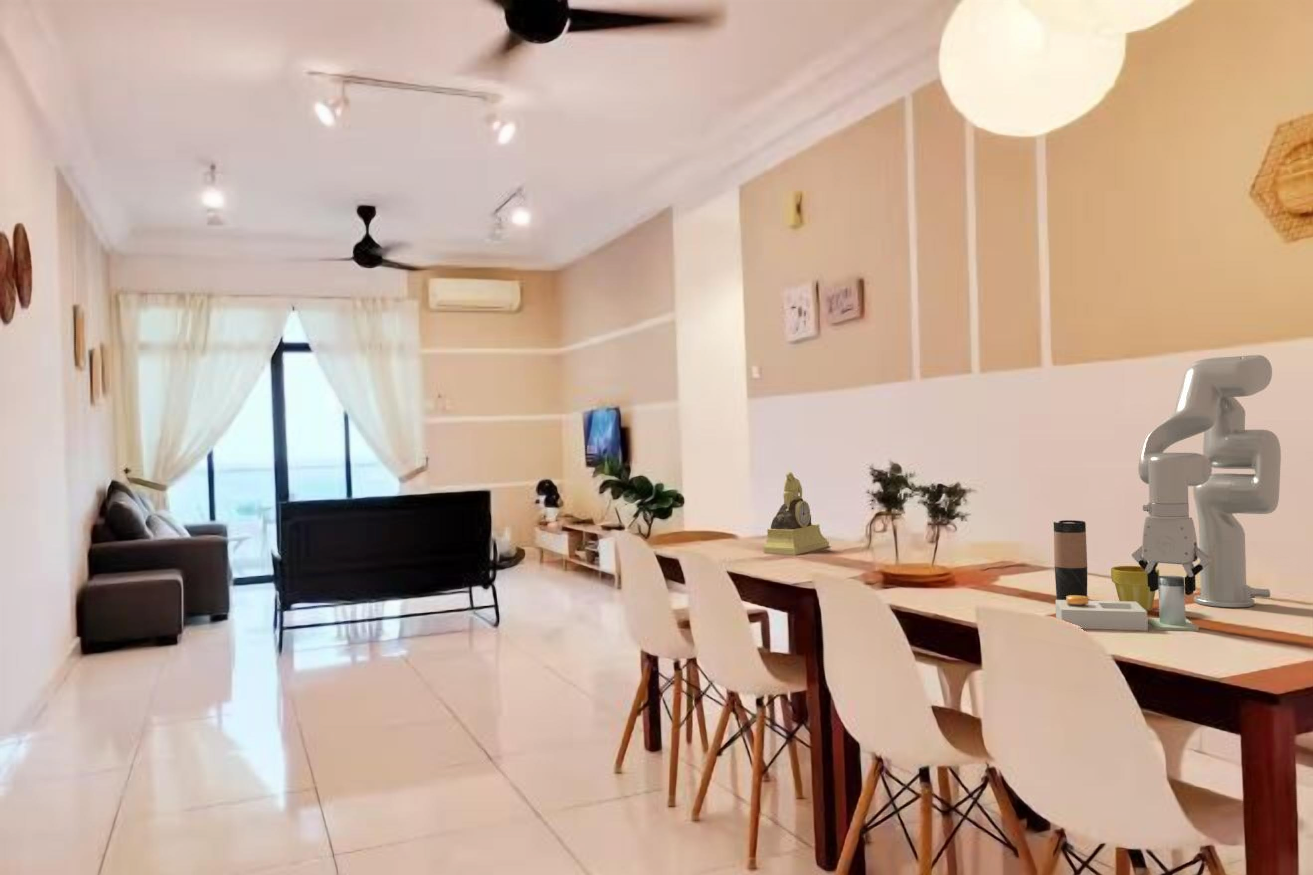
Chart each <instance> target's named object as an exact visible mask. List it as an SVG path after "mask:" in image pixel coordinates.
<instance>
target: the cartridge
mask: <svg viewBox="0 0 1313 875" xmlns="http://www.w3.org/2000/svg"><path fill="white" fill-rule="evenodd" d="M1157 591H1158V612H1159V615H1158V617H1159V618H1160V623H1162V624H1167V625H1184V624H1186V619H1187V616H1186V594H1185V577H1183V576H1179V575H1159V576H1158V590H1157Z"/></svg>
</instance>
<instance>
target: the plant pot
mask: <svg viewBox="0 0 1313 875" xmlns="http://www.w3.org/2000/svg"><path fill="white" fill-rule="evenodd" d="M1155 570H1156V572H1157V573H1158V576H1160V570H1159V568H1157V567H1156V569H1155ZM1110 576H1111V577H1110V578H1111V582H1112V583H1113V584H1114V586H1115V589H1116V593H1117V598H1118V601H1130V602H1137V603H1138V604H1139V605H1140V606H1141V607H1142V608H1144V609H1145V610H1146V611H1147V612H1149V611H1152V610H1153V607H1154V601H1155V598H1156V597H1155V596H1156V591H1153V592H1152V591H1150V587H1148V578H1147V573H1146V572H1145V570H1144V569H1143V568H1142V567H1141V566H1140V565H1119V566H1114V567H1113V566H1112V567H1111V568H1110Z"/></svg>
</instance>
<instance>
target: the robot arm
mask: <svg viewBox="0 0 1313 875" xmlns="http://www.w3.org/2000/svg"><path fill="white" fill-rule="evenodd" d="M1272 377H1273V368H1272V364H1271V362H1270V361H1269V359H1268V358H1267V357H1266V356H1264V355H1261V354H1255V355H1251V354H1250V355H1240V356H1239V355H1238V356H1221V357H1212V358H1204V359H1200V360H1196V361H1195V362H1193V363H1192V364H1191V365H1190V367H1189V368H1187V370H1186V371H1185V373H1184V376H1183V378H1182V383H1181V386H1180V389H1179V393H1178V396H1177V400H1176V401H1177V402H1176V404H1175V408H1174V412H1173V414H1171V415H1170V416H1168V417H1167V418H1165V419H1164V420H1163V421H1162V422H1160V423H1159V424H1158V425H1157V426H1156V427H1155V428H1153V430H1152V431H1150V433H1149V434H1148V435H1147V437H1145V440H1144V443H1143V446H1142V449H1141V453H1140V457H1139V460H1138V467H1137V468H1138V469H1137V470H1138V476H1139V478H1140V480H1141V481H1142V482H1143V483H1144V484H1146V485H1148V496H1149V497H1148V499H1149V502H1148V504H1144V505H1143V506H1142V511H1143V512H1148V515H1149V516H1145V519H1144V524H1143V531H1142V532H1143V533H1142V543H1141V546H1140V547H1139V548H1138V549H1136V550H1135V551H1134V552H1133V553H1132V554H1131V557H1132V558H1133V559H1134V561H1135V562H1136V563H1137V564H1138V566H1141V567H1142V568H1143V569H1144V570H1145V572H1146V573H1147V578H1148V587H1150V591H1152V592H1153V591H1155V592H1157V591H1159V590H1158V573H1157V572H1156V570H1155V569H1156V568H1157V567H1158V565H1159V564H1170V565H1182V567H1183V569H1184V571H1185V573H1186V575H1185V577H1184V590H1185V596H1191V595H1193V594H1194V592H1195V591H1196V588H1197V587H1196V576H1197V575H1198V574H1200V575H1199V576H1200V577H1199V579H1200V594H1196V595H1194V596H1193V602H1195V603H1196V604H1199V605H1204V606H1210V607H1211V606H1212V607H1218V608H1219V607H1220V608H1248V607H1253V606H1255V598H1256V597H1259V598H1270V596H1271V591H1270V589H1269V588H1260V587H1259V588H1257V587H1256V588H1255V587H1251V586H1250V585H1249V584H1247V563H1246V561H1247V559H1246V534H1245V530H1244V527H1243V526H1242V524H1241V523H1240V522H1239V521H1238V519H1237V518H1236V517H1235V516H1234V515H1233V514H1235V515H1236V514H1242V515H1243V514H1244V515H1245V514H1248V515H1249V514H1250V515H1267V514H1272V513H1273V512H1275V511H1276V510H1277V507H1278V505H1279V499H1280V483H1281V481H1280V480H1281V462H1282V461H1281V460H1282V459H1281V457H1282V454H1281V452H1282V450H1281V443H1280V439H1279V437H1278V436H1277V435H1276V434H1275V433H1274V432H1273V431H1271V430H1268V429H1246V410H1245V408H1244V407H1243V405H1242V404H1241V403H1240V401H1238V400H1237V399H1236V398H1239V397H1240V398H1242V397H1249V396H1253V395H1255V394H1258V393H1259V392H1262V391H1264V390H1265V389H1266V388H1267V387H1268V386H1269V384H1270V383H1271V380H1272ZM1201 433H1203V446H1202V447H1203V448H1202V449H1203V450H1202V451H1203V452H1202V454H1201V453H1198V452H1165V451H1166V450H1167V449H1168V448H1169V447H1170V446H1172V445H1174V444H1177V443H1178V442H1180V441H1181V442H1182V441H1185V440H1186V439H1188V438H1191V437H1195V436H1197V435H1199V434H1201ZM1212 468H1214V469H1222V470H1223V469H1224V470H1254V471H1255V472H1254V473H1212V470H1213V469H1212ZM1189 487H1193V489H1192V492H1193V493H1192V494H1193V499H1194V503H1195V504H1194V505H1195V507H1196V514H1197V520H1198V535H1199V536H1198V540H1197V534H1196V533H1197V532H1196V528H1195V523H1194V520H1193V518H1192V517H1190V513H1189V512H1190V511H1189V510H1190V507H1189V504H1190V503H1189ZM1198 543H1199V547H1198ZM1198 559H1199V563H1197V564H1196V565H1195V564H1194V562H1196V561H1198Z"/></svg>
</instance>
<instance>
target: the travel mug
mask: <svg viewBox="0 0 1313 875" xmlns="http://www.w3.org/2000/svg"><path fill="white" fill-rule="evenodd" d="M1086 525H1087V523H1086V521H1084V520H1074V519H1072V520H1071V519H1068V520H1066V519H1062V520H1059V521H1058V522H1056V521H1053V552H1054V554H1053V558H1054V560H1053V561H1054V562H1053V563H1054V565H1053V566H1054V578H1055V580H1054V581H1055V592H1056V600H1066V596H1070V595H1080V596H1087V597H1088V554H1087V553H1088V552H1087V548H1088V547H1087V529H1086V528H1087V526H1086Z"/></svg>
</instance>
